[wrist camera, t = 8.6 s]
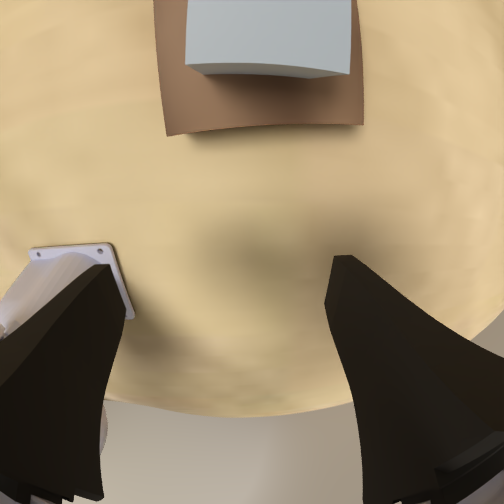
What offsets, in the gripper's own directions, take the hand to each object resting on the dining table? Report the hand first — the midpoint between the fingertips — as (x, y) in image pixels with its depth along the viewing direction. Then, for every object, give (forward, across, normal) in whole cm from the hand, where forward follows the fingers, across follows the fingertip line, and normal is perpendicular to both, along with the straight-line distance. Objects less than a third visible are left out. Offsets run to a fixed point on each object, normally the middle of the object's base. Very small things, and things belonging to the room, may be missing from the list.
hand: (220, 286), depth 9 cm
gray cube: (+7, -2, -9) cm, 12 cm away
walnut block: (+11, -2, -9) cm, 14 cm away
